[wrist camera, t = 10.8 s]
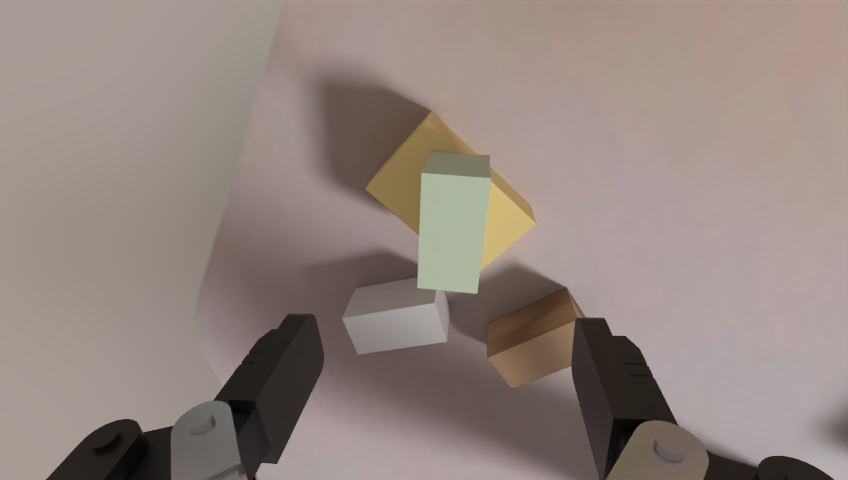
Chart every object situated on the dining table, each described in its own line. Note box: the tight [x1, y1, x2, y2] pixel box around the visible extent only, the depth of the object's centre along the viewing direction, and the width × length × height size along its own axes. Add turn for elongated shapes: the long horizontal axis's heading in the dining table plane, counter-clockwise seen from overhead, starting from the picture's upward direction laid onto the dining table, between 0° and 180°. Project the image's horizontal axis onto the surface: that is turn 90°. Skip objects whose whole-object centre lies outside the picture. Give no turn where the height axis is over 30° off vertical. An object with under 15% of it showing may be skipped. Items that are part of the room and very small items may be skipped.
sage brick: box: [417, 151, 491, 294], centre depth 21 cm, size 6×3×4 cm, turn 178°
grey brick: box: [342, 277, 450, 355], centre depth 27 cm, size 6×3×4 cm, turn 106°
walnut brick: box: [486, 287, 586, 389], centre depth 27 cm, size 6×3×4 cm, turn 125°
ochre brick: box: [365, 111, 536, 271], centre depth 24 cm, size 8×5×3 cm, turn 48°
